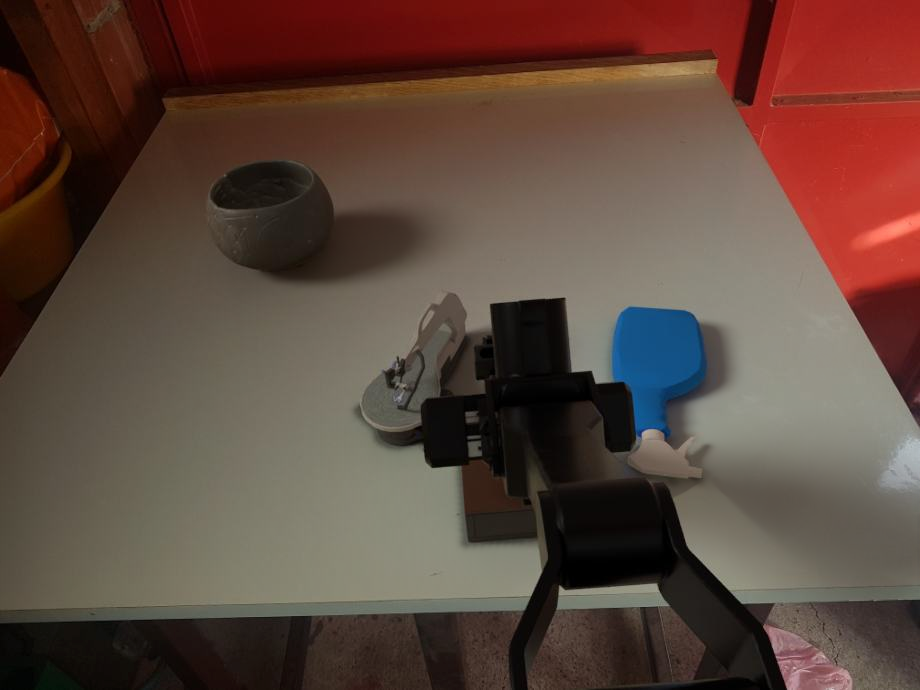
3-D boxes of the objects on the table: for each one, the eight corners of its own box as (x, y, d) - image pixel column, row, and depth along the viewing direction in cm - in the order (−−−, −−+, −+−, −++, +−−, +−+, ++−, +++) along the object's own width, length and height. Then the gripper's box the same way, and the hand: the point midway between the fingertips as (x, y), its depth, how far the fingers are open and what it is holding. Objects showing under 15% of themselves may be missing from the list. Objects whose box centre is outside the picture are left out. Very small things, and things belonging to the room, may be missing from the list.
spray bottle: (614, 303, 88) (608, 459, 71) (704, 308, 86) (719, 471, 69) (613, 320, 90) (605, 476, 73) (700, 326, 88) (713, 488, 71)
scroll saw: (408, 262, 85) (495, 280, 81) (417, 326, 92) (498, 345, 88) (323, 373, 72) (422, 401, 68) (341, 437, 79) (432, 466, 75)
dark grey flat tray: (462, 463, 75) (459, 435, 72) (578, 453, 75) (580, 425, 72) (468, 542, 68) (465, 515, 65) (595, 531, 68) (598, 504, 65)
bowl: (211, 246, 109) (183, 174, 101) (318, 210, 115) (301, 139, 106) (241, 308, 98) (213, 232, 89) (359, 264, 103) (343, 190, 94)
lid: (459, 428, 73) (455, 395, 69) (579, 418, 72) (581, 384, 69) (464, 515, 65) (461, 483, 61) (598, 503, 65) (602, 471, 61)
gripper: (643, 320, 55) (604, 330, 71) (408, 341, 55) (422, 345, 71) (656, 461, 55) (614, 439, 70) (420, 481, 55) (431, 455, 70)
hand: (520, 417), depth 70 cm, fingers closed on lid, 5 cm apart
